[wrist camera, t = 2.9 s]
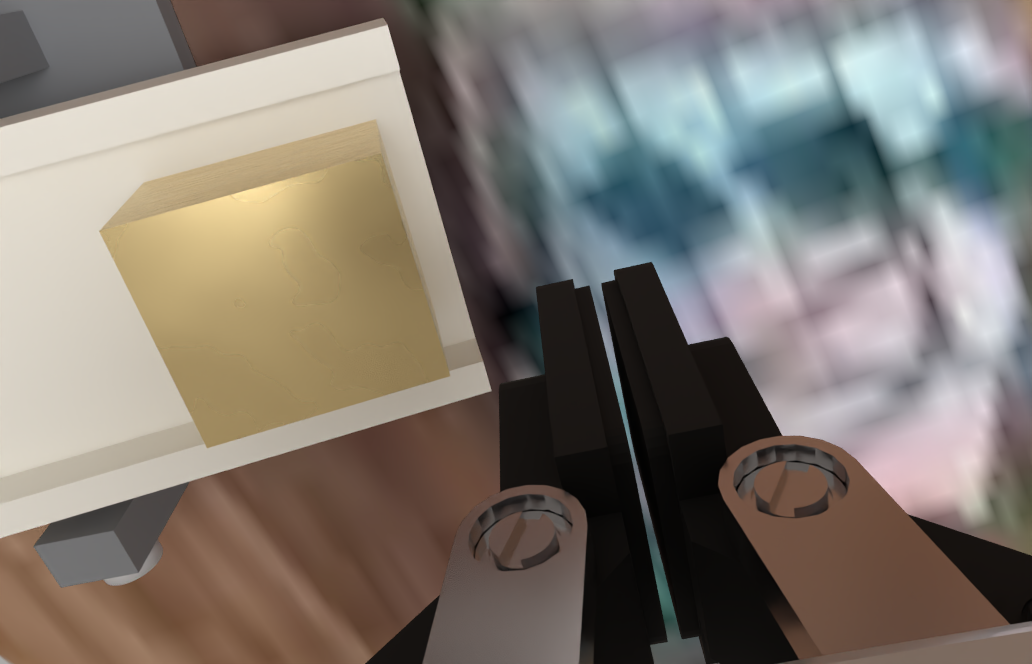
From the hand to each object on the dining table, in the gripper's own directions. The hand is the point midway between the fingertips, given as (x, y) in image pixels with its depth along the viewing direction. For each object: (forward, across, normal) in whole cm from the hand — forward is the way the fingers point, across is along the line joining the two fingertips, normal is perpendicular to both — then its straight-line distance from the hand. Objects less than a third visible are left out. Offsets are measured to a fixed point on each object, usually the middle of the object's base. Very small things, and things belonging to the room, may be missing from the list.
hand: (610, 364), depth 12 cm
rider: (+10, +7, +1) cm, 12 cm away
